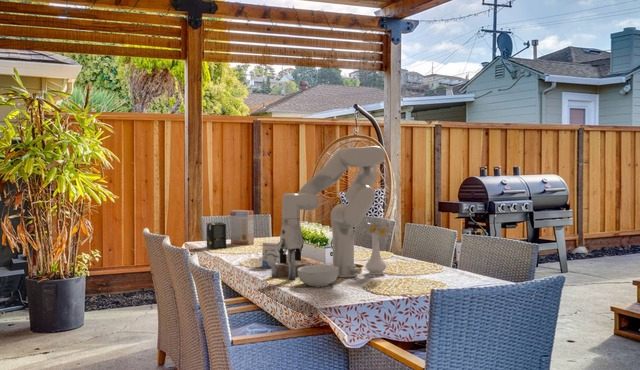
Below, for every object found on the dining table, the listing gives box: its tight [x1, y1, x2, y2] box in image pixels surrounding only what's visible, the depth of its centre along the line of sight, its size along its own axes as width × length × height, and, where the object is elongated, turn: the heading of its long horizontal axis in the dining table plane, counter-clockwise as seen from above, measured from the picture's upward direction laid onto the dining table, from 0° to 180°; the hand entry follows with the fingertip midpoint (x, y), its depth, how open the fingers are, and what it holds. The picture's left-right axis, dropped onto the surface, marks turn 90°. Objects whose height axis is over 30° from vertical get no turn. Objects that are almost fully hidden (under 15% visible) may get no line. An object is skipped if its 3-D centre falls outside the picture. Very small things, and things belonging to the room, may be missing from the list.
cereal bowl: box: [297, 264, 339, 288], centre depth 244 cm, size 17×17×7 cm
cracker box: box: [229, 209, 255, 246], centre depth 367 cm, size 14×6×21 cm, turn 58°
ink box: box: [261, 240, 280, 268], centre depth 290 cm, size 9×5×12 cm, turn 62°
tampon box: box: [206, 221, 227, 250], centre depth 352 cm, size 11×9×15 cm
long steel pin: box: [287, 249, 296, 281], centre depth 255 cm, size 3×3×14 cm
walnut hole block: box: [278, 261, 305, 278], centre depth 266 cm, size 10×8×5 cm
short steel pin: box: [270, 263, 279, 278], centre depth 262 cm, size 3×3×6 cm
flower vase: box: [360, 217, 393, 276], centre depth 267 cm, size 13×18×25 cm
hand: (290, 261), depth 255 cm, fingers open, 9 cm apart
